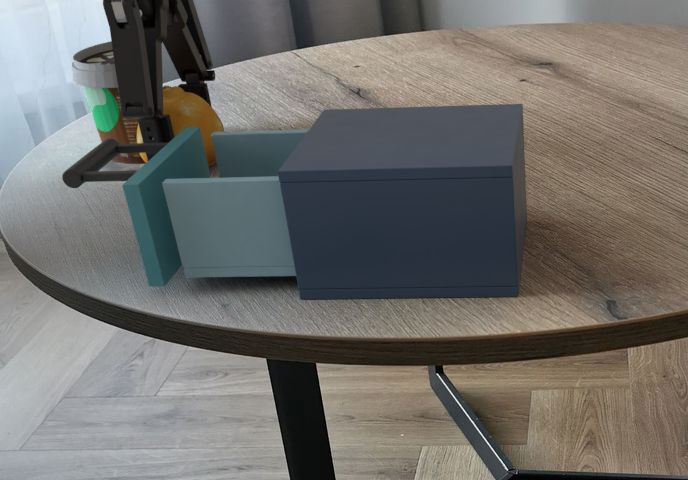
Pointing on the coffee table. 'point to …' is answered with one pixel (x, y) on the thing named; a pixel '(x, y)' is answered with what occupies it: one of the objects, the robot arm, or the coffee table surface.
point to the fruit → (189, 117)
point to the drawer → (204, 202)
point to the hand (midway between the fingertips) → (188, 165)
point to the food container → (105, 97)
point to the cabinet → (408, 203)
